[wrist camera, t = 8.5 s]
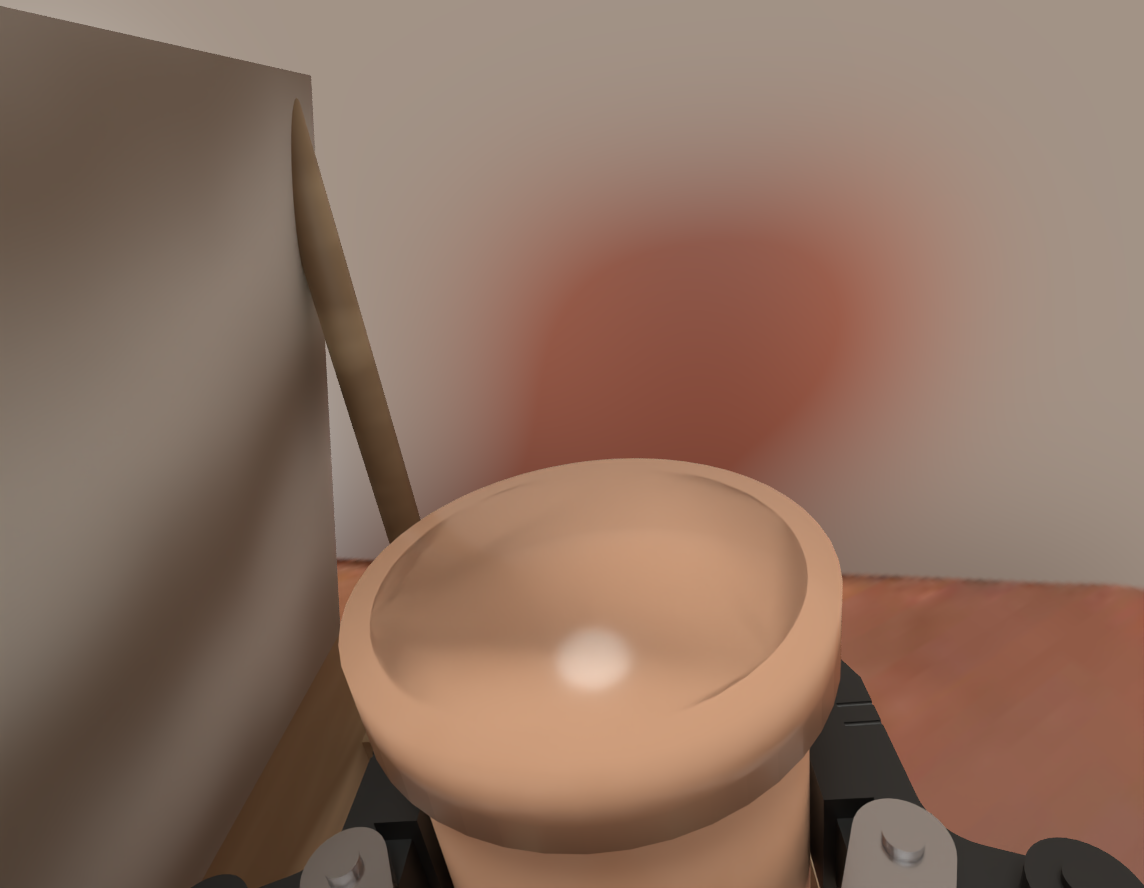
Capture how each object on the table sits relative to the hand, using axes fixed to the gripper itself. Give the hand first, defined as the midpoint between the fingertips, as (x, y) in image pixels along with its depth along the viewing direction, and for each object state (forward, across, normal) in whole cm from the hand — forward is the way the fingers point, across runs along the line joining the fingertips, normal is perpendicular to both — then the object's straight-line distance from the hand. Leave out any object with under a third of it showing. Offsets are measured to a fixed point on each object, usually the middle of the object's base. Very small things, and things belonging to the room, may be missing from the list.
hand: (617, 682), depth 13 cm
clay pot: (-2, 0, +8) cm, 8 cm away
